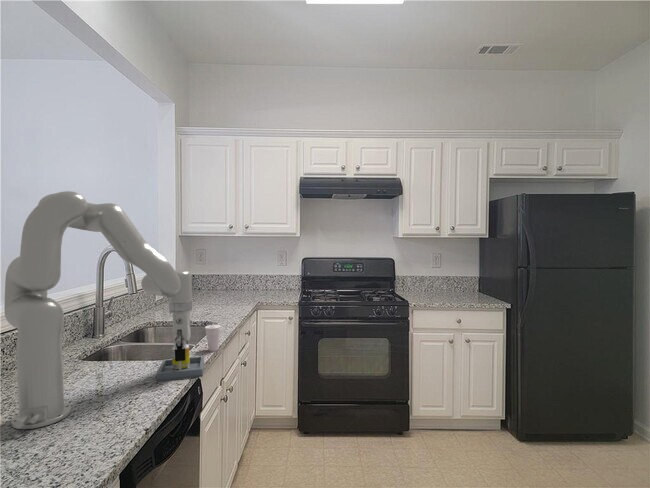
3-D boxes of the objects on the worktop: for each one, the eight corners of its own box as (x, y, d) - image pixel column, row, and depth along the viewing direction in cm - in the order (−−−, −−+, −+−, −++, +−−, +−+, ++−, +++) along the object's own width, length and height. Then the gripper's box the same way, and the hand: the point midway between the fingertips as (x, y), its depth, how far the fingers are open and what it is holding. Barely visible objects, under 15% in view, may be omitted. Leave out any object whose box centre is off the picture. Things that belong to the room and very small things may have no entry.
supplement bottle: (191, 366, 136) (190, 337, 135) (188, 371, 130) (187, 341, 130) (174, 367, 135) (173, 338, 135) (170, 373, 129) (169, 342, 129)
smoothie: (209, 353, 152) (208, 318, 152) (202, 349, 157) (202, 315, 156) (224, 350, 156) (223, 316, 156) (217, 346, 161) (216, 313, 161)
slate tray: (202, 376, 128) (202, 369, 128) (157, 381, 124) (156, 373, 124) (204, 362, 141) (204, 356, 141) (163, 366, 138) (163, 359, 138)
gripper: (190, 311, 125) (191, 363, 125) (193, 301, 141) (194, 348, 142) (165, 312, 123) (166, 365, 123) (171, 303, 139) (173, 349, 140)
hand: (181, 356), depth 132 cm, fingers open, 9 cm apart
